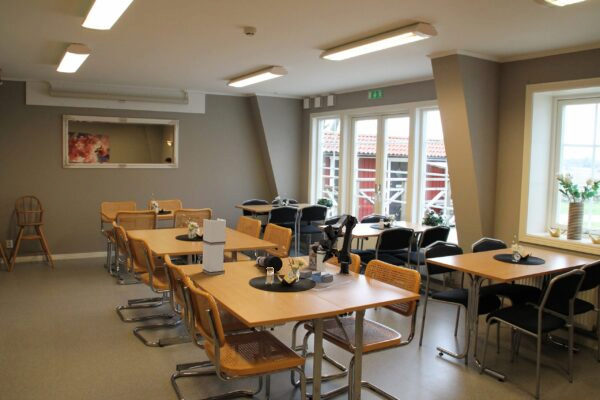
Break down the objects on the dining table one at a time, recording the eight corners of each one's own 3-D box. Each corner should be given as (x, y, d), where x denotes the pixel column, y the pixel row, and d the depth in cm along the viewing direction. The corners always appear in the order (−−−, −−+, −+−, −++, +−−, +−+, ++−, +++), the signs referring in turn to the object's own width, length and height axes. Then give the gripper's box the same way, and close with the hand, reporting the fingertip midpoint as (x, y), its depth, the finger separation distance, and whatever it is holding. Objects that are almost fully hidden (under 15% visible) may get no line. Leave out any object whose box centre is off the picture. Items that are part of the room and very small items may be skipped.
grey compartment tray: (298, 279, 324) (299, 271, 324) (307, 276, 332) (307, 269, 331) (324, 284, 312) (325, 276, 312) (333, 282, 320) (333, 274, 319)
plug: (316, 270, 320) (316, 251, 319) (320, 269, 323) (320, 250, 322) (321, 271, 317) (322, 252, 316) (325, 270, 320) (326, 251, 320)
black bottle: (260, 269, 372) (266, 256, 374) (278, 274, 341) (285, 260, 344) (248, 263, 368) (254, 251, 370) (266, 268, 337) (272, 254, 340)
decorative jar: (325, 269, 357) (326, 244, 356) (308, 268, 358) (309, 243, 356) (324, 266, 369) (325, 241, 368) (308, 265, 369) (309, 240, 368)
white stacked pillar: (224, 273, 334) (225, 220, 331) (209, 275, 328) (210, 220, 325) (217, 270, 343) (218, 218, 341) (202, 271, 337) (203, 218, 335)
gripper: (313, 232, 327) (302, 251, 319) (338, 236, 316) (327, 255, 308) (320, 243, 334) (309, 262, 326) (344, 247, 323) (334, 267, 315)
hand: (319, 261), depth 319 cm, fingers closed on plug, 4 cm apart
